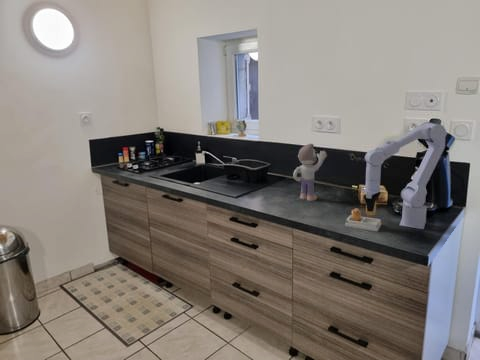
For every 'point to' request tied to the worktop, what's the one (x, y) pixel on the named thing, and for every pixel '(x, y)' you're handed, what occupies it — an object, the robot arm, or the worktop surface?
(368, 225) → the housing
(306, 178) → the toy
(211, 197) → the worktop surface
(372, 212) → the peg
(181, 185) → the worktop surface
